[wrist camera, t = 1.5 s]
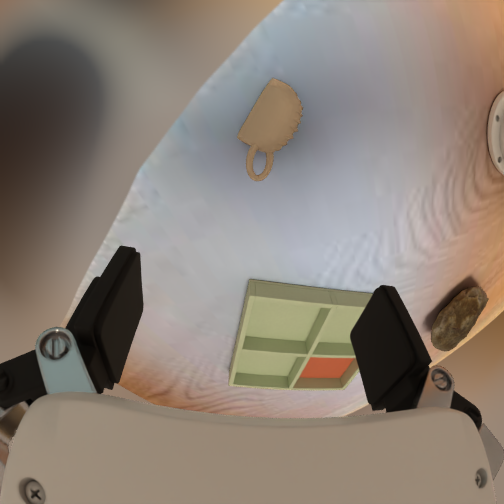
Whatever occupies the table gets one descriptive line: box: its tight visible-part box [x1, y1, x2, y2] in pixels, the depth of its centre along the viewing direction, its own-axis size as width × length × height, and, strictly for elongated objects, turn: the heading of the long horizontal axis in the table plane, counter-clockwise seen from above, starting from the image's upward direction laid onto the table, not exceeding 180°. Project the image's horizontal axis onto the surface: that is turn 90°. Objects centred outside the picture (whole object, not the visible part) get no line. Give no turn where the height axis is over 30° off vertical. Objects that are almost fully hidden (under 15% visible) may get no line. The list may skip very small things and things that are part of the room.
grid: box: [228, 279, 373, 390], centre depth 40 cm, size 21×21×3 cm
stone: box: [431, 286, 488, 351], centre depth 37 cm, size 13×8×8 cm
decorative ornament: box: [237, 78, 303, 181], centre depth 22 cm, size 4×8×5 cm, turn 149°
